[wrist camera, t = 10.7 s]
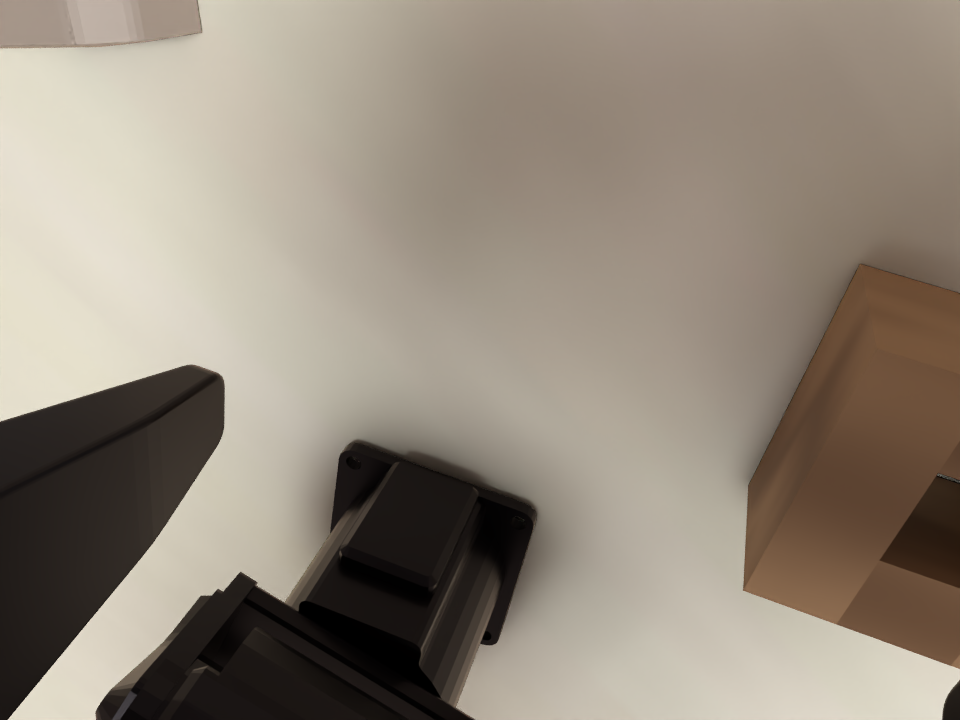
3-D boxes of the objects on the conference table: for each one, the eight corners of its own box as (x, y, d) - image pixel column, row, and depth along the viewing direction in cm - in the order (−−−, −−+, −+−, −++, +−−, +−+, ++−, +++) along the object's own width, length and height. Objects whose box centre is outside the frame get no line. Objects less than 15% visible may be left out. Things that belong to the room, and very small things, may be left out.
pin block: (1010, 575, 22) (1051, 701, 18) (748, 485, 23) (743, 590, 19) (1185, 360, 18) (1277, 472, 15) (860, 264, 19) (877, 348, 16)
